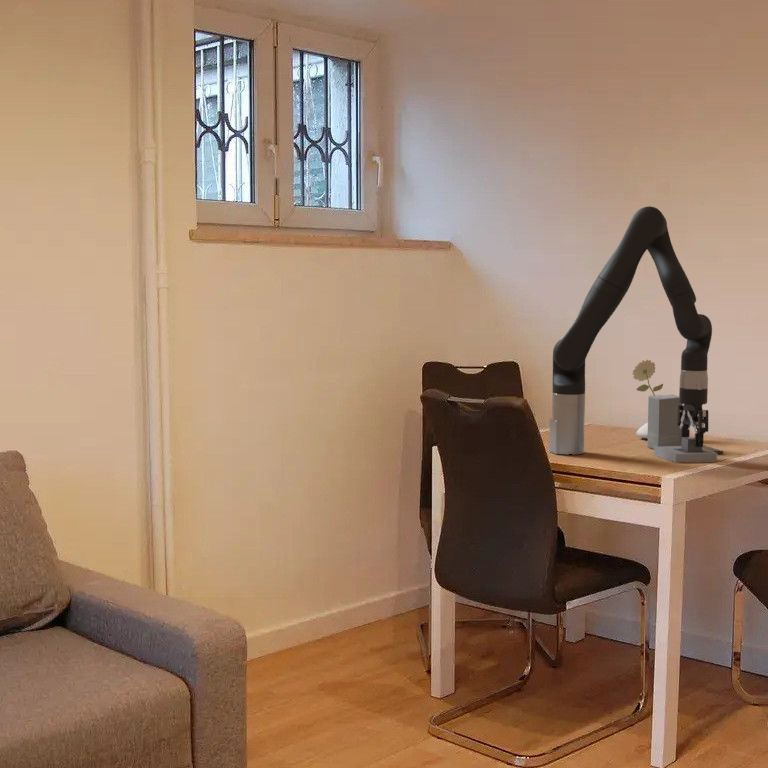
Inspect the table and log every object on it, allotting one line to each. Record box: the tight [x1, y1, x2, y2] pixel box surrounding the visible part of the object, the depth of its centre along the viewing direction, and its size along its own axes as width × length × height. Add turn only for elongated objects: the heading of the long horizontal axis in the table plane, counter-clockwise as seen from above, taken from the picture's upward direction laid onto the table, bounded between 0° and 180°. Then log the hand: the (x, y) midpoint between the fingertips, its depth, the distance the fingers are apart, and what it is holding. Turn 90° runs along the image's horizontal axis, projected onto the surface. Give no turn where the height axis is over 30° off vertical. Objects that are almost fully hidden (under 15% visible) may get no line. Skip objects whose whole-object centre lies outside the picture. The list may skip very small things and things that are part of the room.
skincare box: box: [647, 394, 684, 450], centre depth 329 cm, size 8×7×16 cm
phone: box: [702, 444, 724, 455], centre depth 325 cm, size 12×6×1 cm, turn 10°
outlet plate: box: [653, 446, 718, 464], centre depth 312 cm, size 12×14×2 cm
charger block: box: [681, 436, 702, 452], centre depth 310 cm, size 4×4×6 cm
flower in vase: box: [632, 359, 664, 440], centre depth 349 cm, size 13×11×25 cm
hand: (691, 444), depth 310 cm, fingers open, 8 cm apart
